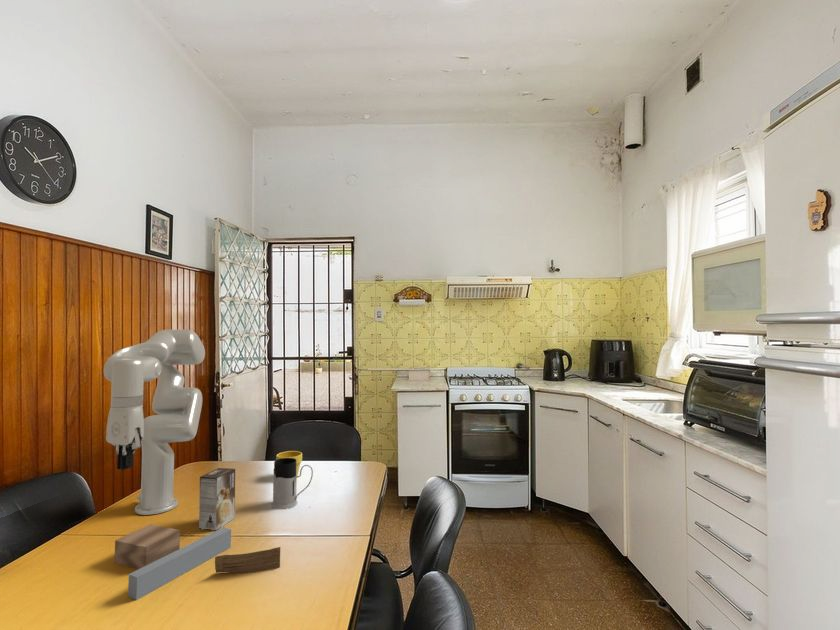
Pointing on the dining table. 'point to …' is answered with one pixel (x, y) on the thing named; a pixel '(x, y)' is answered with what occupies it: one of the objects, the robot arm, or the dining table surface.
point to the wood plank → (248, 561)
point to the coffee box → (217, 498)
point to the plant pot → (291, 454)
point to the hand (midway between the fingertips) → (124, 467)
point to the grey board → (177, 563)
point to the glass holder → (285, 483)
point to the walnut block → (146, 546)
